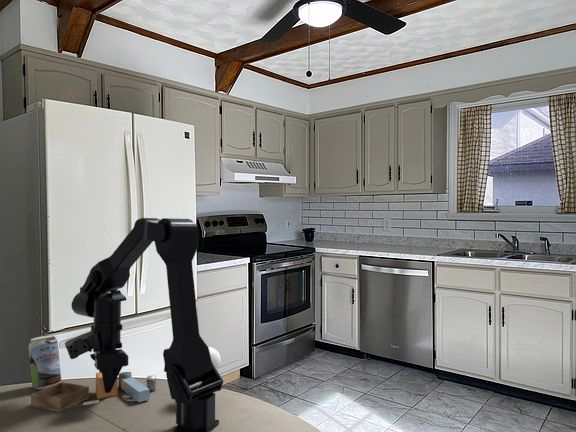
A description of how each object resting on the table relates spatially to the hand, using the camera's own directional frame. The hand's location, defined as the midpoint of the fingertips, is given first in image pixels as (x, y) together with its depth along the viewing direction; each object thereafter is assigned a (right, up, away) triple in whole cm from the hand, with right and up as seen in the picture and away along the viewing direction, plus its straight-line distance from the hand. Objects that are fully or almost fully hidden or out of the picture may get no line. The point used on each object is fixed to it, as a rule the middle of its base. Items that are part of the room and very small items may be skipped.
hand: (106, 389), depth 100 cm
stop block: (0, -1, 0) cm, 1 cm away
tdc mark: (-1, -1, -5) cm, 5 cm away
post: (+9, -1, +2) cm, 10 cm away
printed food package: (-16, -1, +4) cm, 17 cm away
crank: (+6, -1, 0) cm, 6 cm away
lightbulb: (+23, -1, -2) cm, 23 cm away
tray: (-8, -1, -5) cm, 9 cm away
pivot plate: (+7, -1, -1) cm, 7 cm away
